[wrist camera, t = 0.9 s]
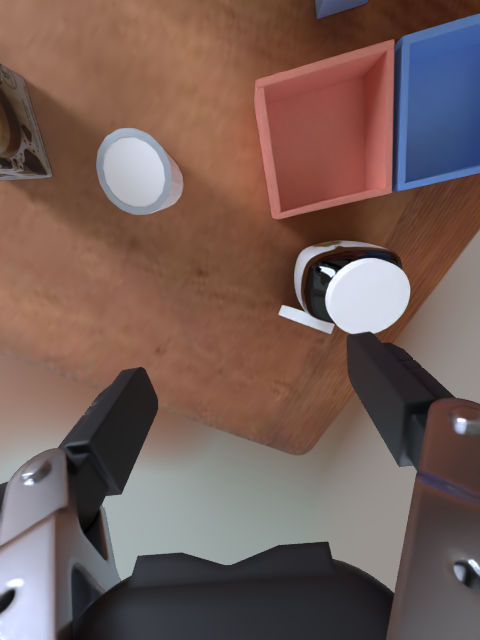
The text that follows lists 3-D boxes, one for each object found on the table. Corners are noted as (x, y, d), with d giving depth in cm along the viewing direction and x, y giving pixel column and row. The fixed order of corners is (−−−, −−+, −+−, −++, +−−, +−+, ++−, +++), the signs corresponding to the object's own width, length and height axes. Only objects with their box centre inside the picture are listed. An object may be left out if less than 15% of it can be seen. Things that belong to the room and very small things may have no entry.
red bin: (254, 102, 26) (255, 79, 21) (367, 70, 25) (394, 38, 20) (272, 217, 30) (276, 219, 26) (368, 195, 29) (391, 193, 24)
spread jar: (373, 235, 31) (440, 250, 20) (363, 320, 35) (412, 369, 25) (274, 243, 31) (288, 261, 21) (276, 325, 36) (288, 375, 25)
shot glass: (177, 137, 27) (155, 116, 21) (196, 205, 30) (182, 205, 24) (119, 155, 28) (81, 139, 22) (142, 220, 31) (115, 223, 24)
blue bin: (373, 68, 24) (402, 35, 20) (499, 32, 23) (562, -12, 19) (374, 194, 29) (398, 191, 24) (480, 169, 28) (527, 161, 23)
